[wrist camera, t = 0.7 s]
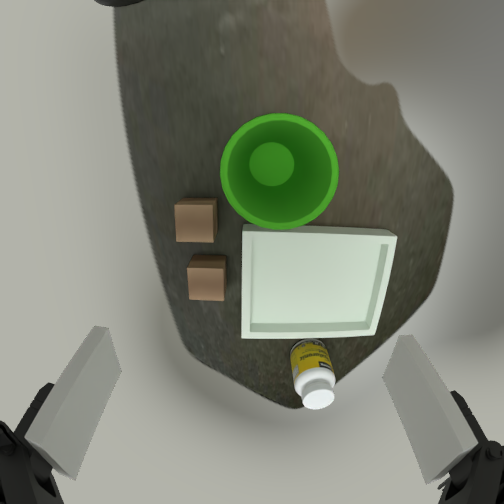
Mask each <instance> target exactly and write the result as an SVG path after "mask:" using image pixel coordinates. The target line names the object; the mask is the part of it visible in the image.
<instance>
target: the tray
mask: <svg viewBox="0 0 504 504" xmlns="http://www.w3.org/2000/svg"><path fill="white" fill-rule="evenodd" d="M396 241H397V236H396V235H394V234H393V233H391V232H390V231H389V230H387V229H373V228H353V227H331V226H304V225H303V226H300V227H296V228H293V229H287V230H273V229H267V228H262V227H260V226H257V225H255V224H243V231H242V338H256V339H296V338H331V337H351V336H366V335H375V331H376V328H377V324H378V321H379V317H380V313H381V310H382V306H383V302H384V298H385V294H386V290H387V285H388V281H389V276H390V272H391V267H392V262H393V257H394V252H395V247H396Z"/></svg>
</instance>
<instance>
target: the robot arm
mask: <svg viewBox="0 0 504 504" xmlns="http://www.w3.org/2000/svg"><path fill="white" fill-rule="evenodd" d="M95 1H96V2H97V3H99V4H102V5H105V6H124V5H129V4H133V3H136V2H139V1H142V0H95ZM121 372H122V371H121V368H120V365H119V362H118V359H117V355H116V352H115V349H114V346H113V342H112V339H111V336H110V332H109V328H106V327H99V326H94V327H93V329H92V330H91V331H90V333H89V334H88V336H87V337H86V338H85V340H84V341H83V343H82V344H81V346H80V347H79V349H78V350H77V352H76V353H75V355H74V356H73V358H72V359H71V360H70V362H69V364H68V365H67V366H66V368H65V370H64V371H63V373H62V374H61V376H60V377H59V379H58V381H57V382H56V384H52V383H47V384H46V385H45V386H44V387H42V388H41V389H40V390H39V392H38V393H37V395H36V396H35V398H34V400H33V401H32V403H31V404H30V407H29V408H28V409H27V411H26V413H25V414H24V416H23V418H22V419H21V421H20V423H19V424H18V426H17V428H16V430H15V431H14V433H13V432H12V431H11V430H10V428H9V427H8V426H7V425H6V424H5V423H4V422H2V421H0V504H64V502H63V500H62V498H61V495H60V493H59V490H58V487H57V485H56V482H55V479H54V477H53V475H52V473H51V471H52V468H54V469H55V470H56V471H57V472H58V473H59V474H61V475H63V476H65V477H68V478H70V479H72V480H76V477H77V475H78V472H79V469H80V467H81V464H82V462H83V459H84V456H85V454H86V451H87V449H88V446H89V444H90V441H91V439H92V437H93V434H94V432H95V429H96V427H97V425H98V422H99V420H100V418H101V415H102V413H103V411H104V409H105V406H106V404H107V402H108V399H109V397H110V395H111V393H112V391H113V389H114V387H115V384H116V382H117V380H118V378H119V376H120V374H121ZM382 378H383V380H384V382H385V384H386V387H387V389H388V391H389V394H390V396H391V398H392V400H393V403H394V405H395V407H396V409H397V412H398V414H399V417H400V419H401V421H402V424H403V426H404V429H405V431H406V433H407V436H408V438H409V441H410V443H411V446H412V448H413V451H414V453H415V456H416V459H417V461H418V464H419V467H420V469H421V472H422V475H423V478H424V480H425V483H426V484H429V483H431V482H434V481H437V480H439V479H441V478H442V477H443V476H445V475H446V474H447V473H448V472H449V474H450V477H449V478H448V479H446V480H445V481H444V482H443V483H442V484H440V485H439V487H438V489H441V488H442V487H443V486H444V485H445V487H444V489H443V490H442V491H443V493H442V495H441V498H440V500H439V503H438V504H504V446H501V445H500V444H499V443H498V442H496V441H488V440H487V438H486V436H485V435H484V433H483V431H482V429H481V427H480V425H479V424H478V422H477V420H476V418H475V417H474V415H472V412H471V410H470V408H468V405H467V403H466V402H465V400H464V398H463V397H462V396H461V395H460V394H458V393H457V392H456V391H451V392H449V390H448V389H447V387H446V385H445V384H444V382H443V380H442V379H441V377H440V376H439V374H438V372H437V371H436V369H435V368H434V366H433V365H432V363H431V362H430V360H429V359H428V357H427V355H426V354H425V352H424V351H423V349H422V348H421V347H420V345H419V343H418V342H417V341H416V339H415V338H414V336H413V335H401V336H399V338H398V340H397V343H396V346H395V348H394V351H393V353H392V356H391V358H390V361H389V363H388V365H387V368H386V370H385V372H384V375H383V377H382Z"/></svg>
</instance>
